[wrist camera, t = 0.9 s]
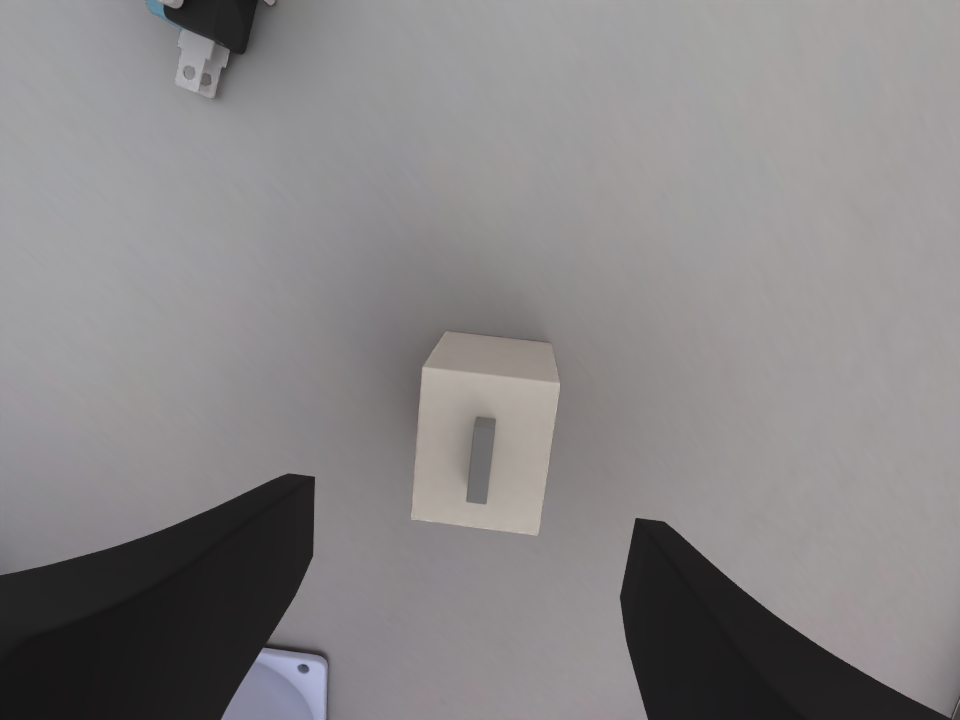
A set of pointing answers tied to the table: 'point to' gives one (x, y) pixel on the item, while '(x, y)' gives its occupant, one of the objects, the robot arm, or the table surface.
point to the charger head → (485, 432)
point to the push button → (206, 35)
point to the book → (957, 712)
